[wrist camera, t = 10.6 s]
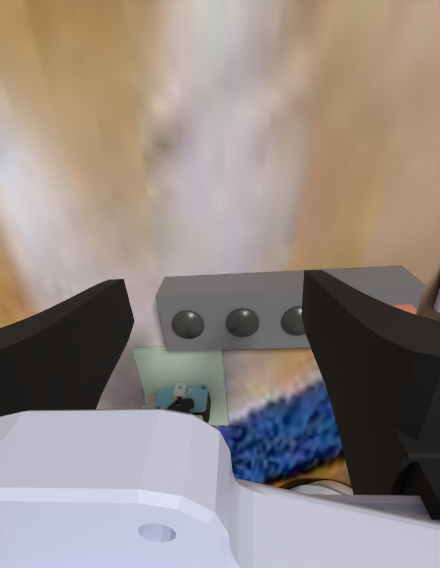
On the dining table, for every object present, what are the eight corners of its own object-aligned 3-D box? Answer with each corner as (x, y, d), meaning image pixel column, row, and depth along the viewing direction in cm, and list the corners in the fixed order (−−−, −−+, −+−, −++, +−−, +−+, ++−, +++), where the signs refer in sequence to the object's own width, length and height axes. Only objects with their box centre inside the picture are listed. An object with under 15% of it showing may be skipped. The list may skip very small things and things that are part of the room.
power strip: (401, 265, 22) (430, 289, 18) (389, 321, 24) (412, 350, 21) (164, 277, 23) (153, 300, 20) (174, 328, 25) (165, 356, 22)
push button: (153, 414, 30) (118, 532, 21) (138, 376, 28) (91, 492, 19) (217, 409, 29) (208, 530, 20) (207, 369, 27) (192, 487, 18)
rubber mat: (221, 345, 26) (221, 349, 25) (228, 420, 31) (228, 425, 30) (134, 347, 27) (132, 351, 26) (154, 420, 31) (153, 425, 31)
